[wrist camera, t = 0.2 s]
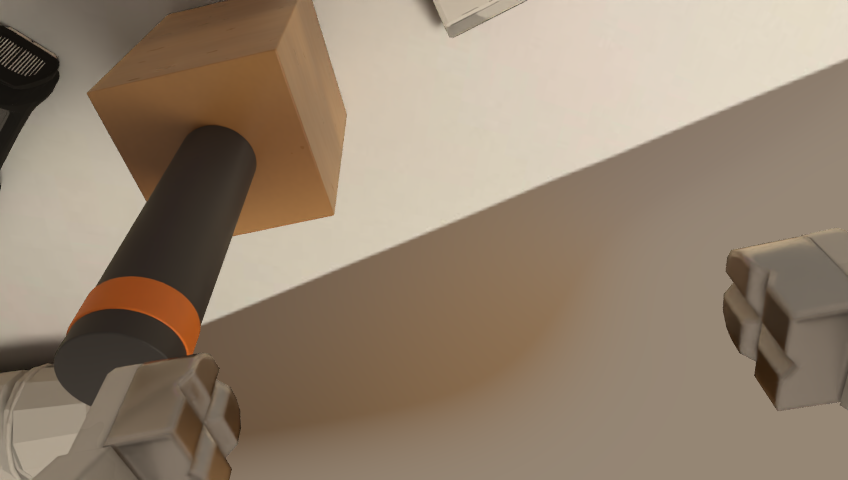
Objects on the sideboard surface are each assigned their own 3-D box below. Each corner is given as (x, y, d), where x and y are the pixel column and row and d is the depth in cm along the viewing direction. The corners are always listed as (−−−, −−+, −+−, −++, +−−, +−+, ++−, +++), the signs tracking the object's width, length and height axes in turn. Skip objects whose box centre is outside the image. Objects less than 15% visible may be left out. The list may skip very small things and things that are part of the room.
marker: (166, 132, 23) (24, 344, 14) (241, 116, 23) (146, 320, 14) (198, 198, 25) (90, 425, 16) (268, 183, 24) (200, 405, 15)
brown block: (167, 14, 30) (85, 93, 22) (306, -19, 30) (275, 49, 21) (223, 142, 34) (172, 249, 26) (347, 115, 34) (334, 215, 25)
